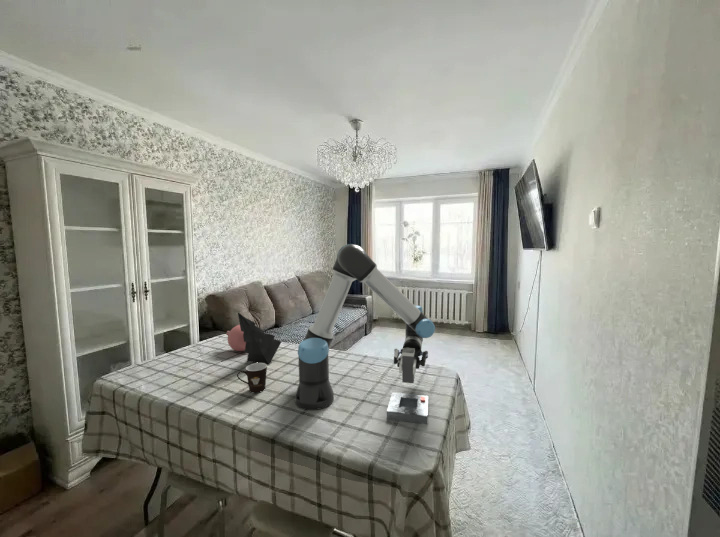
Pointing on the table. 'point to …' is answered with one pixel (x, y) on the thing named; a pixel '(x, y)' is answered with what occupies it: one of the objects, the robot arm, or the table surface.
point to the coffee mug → (255, 376)
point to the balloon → (236, 339)
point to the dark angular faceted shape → (257, 342)
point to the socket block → (408, 408)
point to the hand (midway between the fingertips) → (407, 369)
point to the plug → (408, 365)
